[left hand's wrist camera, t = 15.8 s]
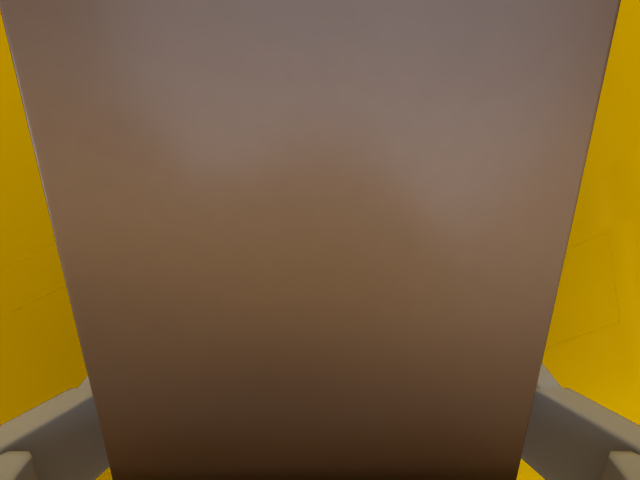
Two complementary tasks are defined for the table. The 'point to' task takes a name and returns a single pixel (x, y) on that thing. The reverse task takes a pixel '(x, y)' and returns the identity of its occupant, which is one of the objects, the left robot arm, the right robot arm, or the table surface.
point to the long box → (311, 222)
